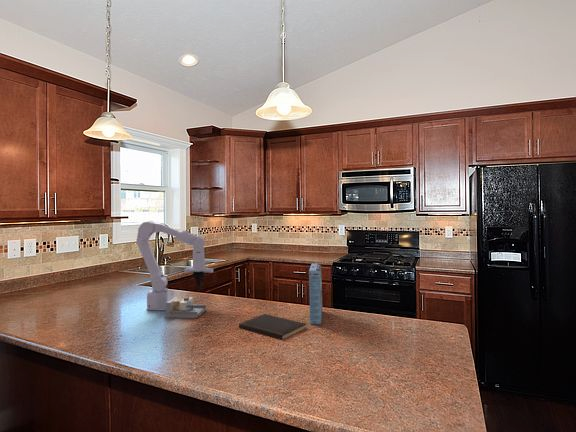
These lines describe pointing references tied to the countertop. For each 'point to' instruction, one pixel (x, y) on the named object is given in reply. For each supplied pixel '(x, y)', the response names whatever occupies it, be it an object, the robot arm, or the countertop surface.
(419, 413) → the countertop surface
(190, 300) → the sliding jaw
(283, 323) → the hardcover book
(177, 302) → the block
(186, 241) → the robot arm
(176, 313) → the base
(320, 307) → the gum box
